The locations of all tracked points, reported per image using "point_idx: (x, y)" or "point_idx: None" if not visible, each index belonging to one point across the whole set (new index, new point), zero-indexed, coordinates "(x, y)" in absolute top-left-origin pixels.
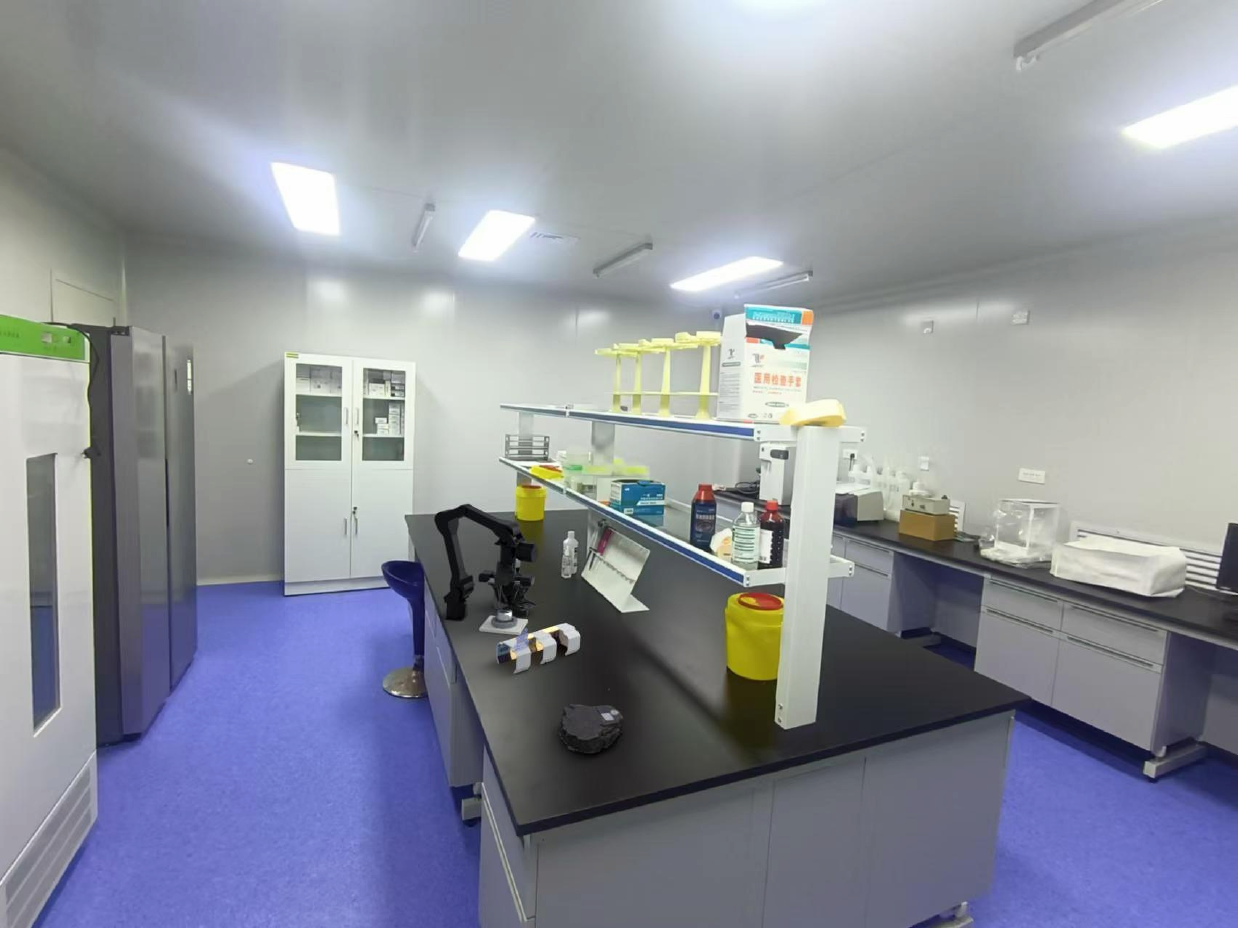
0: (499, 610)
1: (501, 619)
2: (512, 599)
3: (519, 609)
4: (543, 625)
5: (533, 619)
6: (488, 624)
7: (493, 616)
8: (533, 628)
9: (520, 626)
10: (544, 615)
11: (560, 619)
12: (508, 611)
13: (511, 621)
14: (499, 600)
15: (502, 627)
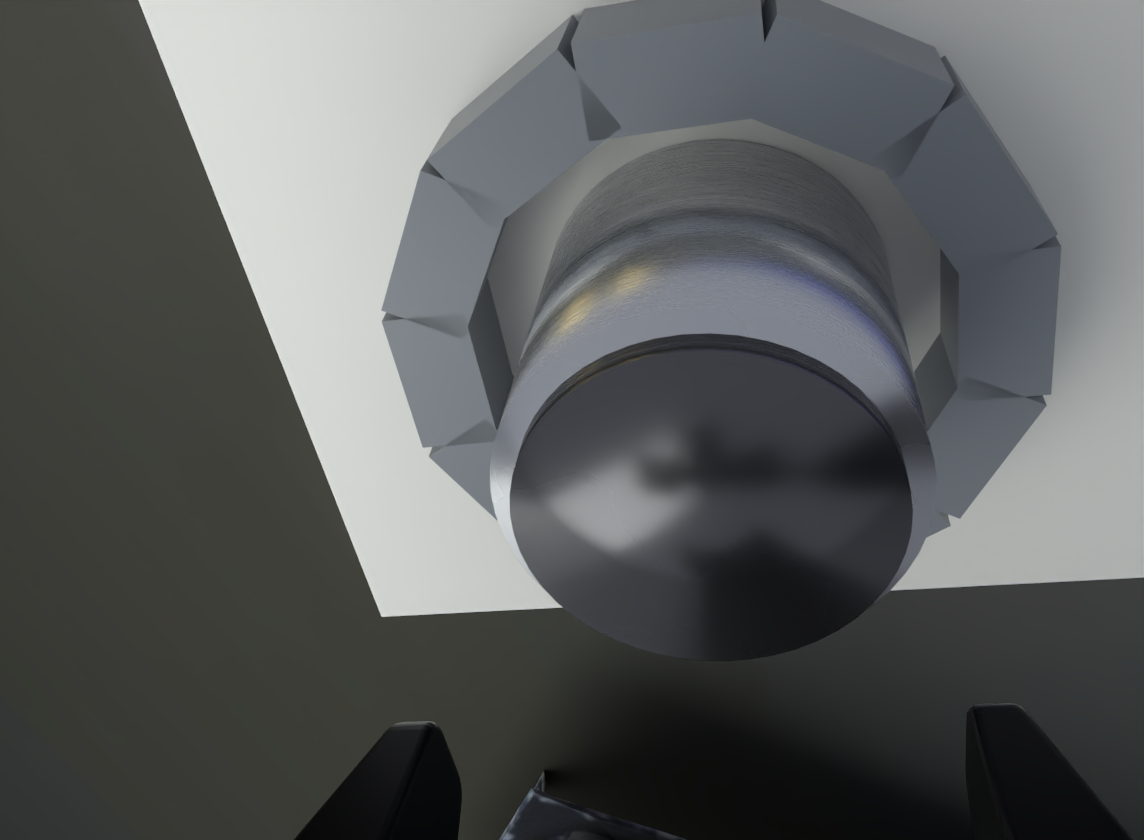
0: (858, 439)
1: (719, 217)
2: (346, 829)
3: (597, 811)
4: (91, 543)
5: (374, 688)
6: (1086, 124)
7: (1088, 562)
8: (144, 384)
9: (311, 293)
10: None
11: (43, 773)
12: (549, 458)
13: None
14: (966, 773)
15: (616, 9)
